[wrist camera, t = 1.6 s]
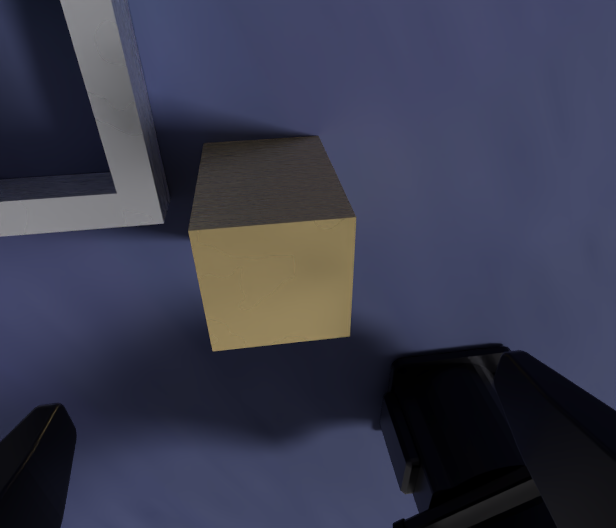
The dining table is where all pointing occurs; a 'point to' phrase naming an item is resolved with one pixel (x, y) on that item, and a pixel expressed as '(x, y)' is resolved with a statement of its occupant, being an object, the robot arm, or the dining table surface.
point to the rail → (114, 135)
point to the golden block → (272, 243)
